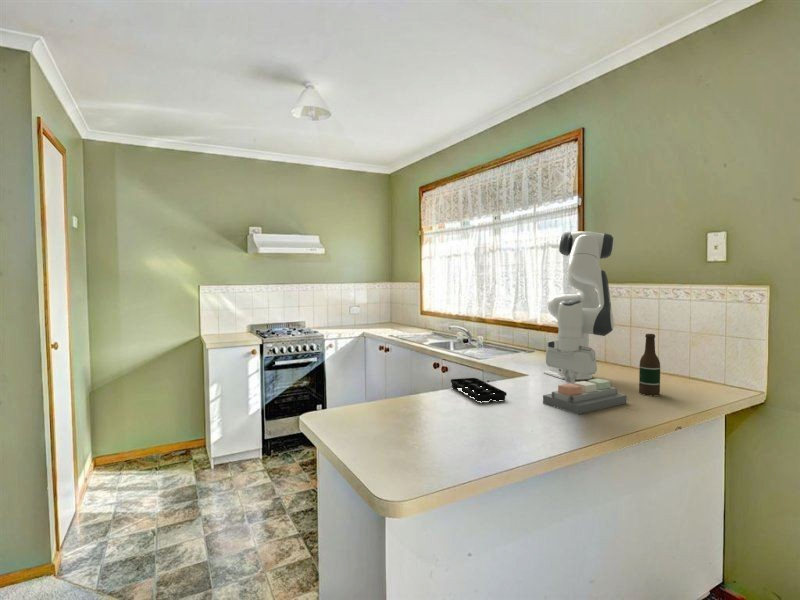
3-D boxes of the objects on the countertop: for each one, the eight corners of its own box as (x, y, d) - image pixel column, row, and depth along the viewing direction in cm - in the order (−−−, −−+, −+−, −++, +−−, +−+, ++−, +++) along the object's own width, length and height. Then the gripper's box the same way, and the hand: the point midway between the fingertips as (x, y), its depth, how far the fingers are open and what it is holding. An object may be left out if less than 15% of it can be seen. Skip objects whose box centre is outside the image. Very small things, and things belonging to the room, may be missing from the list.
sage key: (587, 387, 173) (587, 380, 172) (597, 386, 175) (597, 378, 175) (600, 391, 168) (600, 383, 168) (610, 389, 170) (610, 381, 170)
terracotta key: (558, 393, 165) (558, 385, 165) (568, 391, 168) (568, 383, 167) (570, 396, 160) (570, 388, 160) (581, 394, 163) (581, 386, 163)
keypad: (543, 403, 169) (543, 389, 168) (590, 393, 181) (590, 381, 181) (578, 414, 155) (578, 399, 154) (626, 403, 167) (626, 390, 167)
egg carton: (471, 384, 201) (471, 376, 201) (519, 400, 175) (519, 390, 175) (438, 389, 193) (438, 380, 193) (483, 406, 167) (483, 396, 166)
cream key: (573, 390, 169) (573, 382, 169) (583, 388, 171) (583, 380, 171) (585, 393, 164) (585, 385, 164) (596, 391, 167) (596, 383, 166)
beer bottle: (655, 391, 184) (656, 332, 182) (664, 396, 176) (665, 335, 175) (635, 391, 184) (635, 332, 183) (643, 396, 177) (644, 335, 175)
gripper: (601, 347, 155) (600, 387, 156) (554, 340, 173) (554, 376, 174) (588, 349, 152) (588, 389, 153) (542, 342, 170) (542, 378, 171)
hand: (570, 382), depth 163 cm, fingers closed
